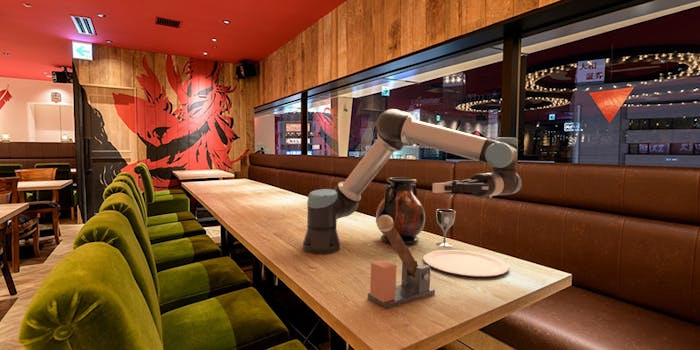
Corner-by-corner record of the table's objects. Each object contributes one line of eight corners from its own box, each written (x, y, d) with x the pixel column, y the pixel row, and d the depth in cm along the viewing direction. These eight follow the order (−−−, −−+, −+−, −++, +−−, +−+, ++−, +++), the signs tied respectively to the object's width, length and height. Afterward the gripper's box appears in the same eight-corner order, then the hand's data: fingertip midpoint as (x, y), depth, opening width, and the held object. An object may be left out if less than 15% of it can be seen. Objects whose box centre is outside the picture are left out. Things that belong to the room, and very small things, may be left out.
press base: (414, 285, 108) (415, 257, 108) (436, 295, 101) (437, 266, 100) (366, 297, 98) (367, 267, 98) (386, 310, 91) (388, 277, 90)
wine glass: (454, 247, 150) (456, 212, 149) (435, 246, 152) (436, 211, 150) (453, 243, 158) (454, 209, 157) (434, 241, 159) (436, 208, 158)
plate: (454, 249, 149) (454, 245, 149) (524, 269, 127) (524, 264, 126) (406, 262, 131) (406, 257, 131) (478, 287, 108) (478, 282, 108)
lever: (416, 267, 105) (381, 210, 96) (427, 271, 101) (392, 212, 92) (407, 278, 103) (370, 221, 94) (418, 283, 100) (381, 224, 90)
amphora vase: (398, 233, 173) (400, 175, 171) (434, 243, 157) (437, 179, 154) (365, 239, 160) (366, 177, 158) (400, 251, 143) (403, 181, 141)
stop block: (381, 291, 99) (382, 259, 98) (395, 299, 94) (396, 265, 94) (370, 294, 97) (371, 262, 96) (383, 302, 92) (384, 268, 91)
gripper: (503, 198, 111) (451, 204, 99) (468, 194, 122) (418, 198, 109) (504, 174, 111) (452, 176, 98) (469, 172, 122) (418, 173, 109)
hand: (434, 188), depth 104 cm, fingers closed
